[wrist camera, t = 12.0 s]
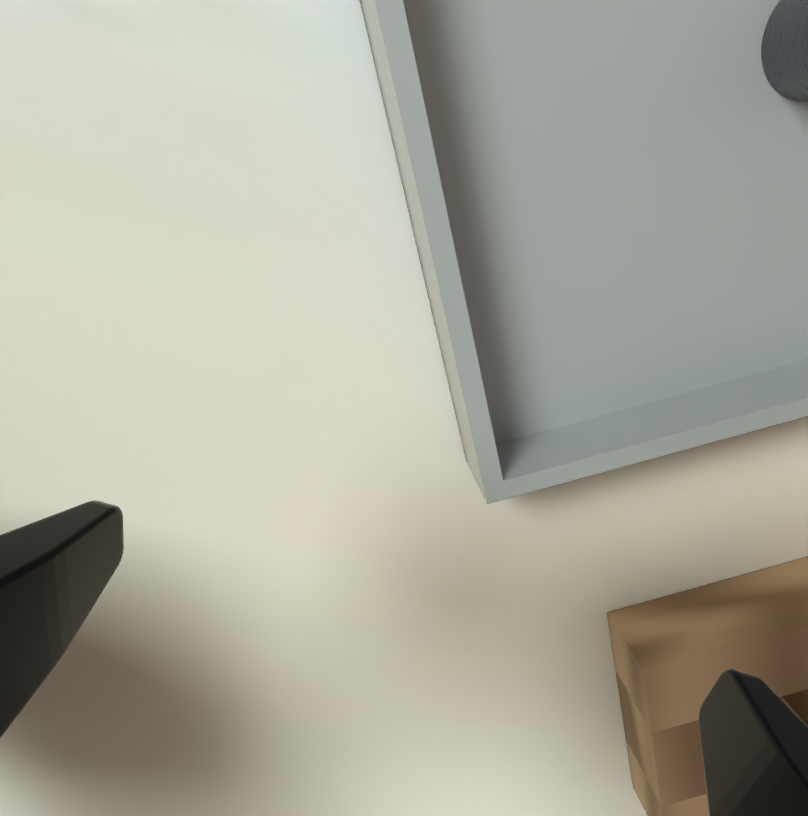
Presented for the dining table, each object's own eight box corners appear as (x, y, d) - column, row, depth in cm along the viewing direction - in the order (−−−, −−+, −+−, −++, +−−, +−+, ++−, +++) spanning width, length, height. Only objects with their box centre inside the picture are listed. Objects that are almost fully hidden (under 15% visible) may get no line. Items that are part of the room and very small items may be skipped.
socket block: (633, 786, 27) (667, 856, 24) (607, 612, 23) (644, 670, 21) (845, 726, 27) (904, 788, 24) (852, 544, 24) (922, 592, 21)
